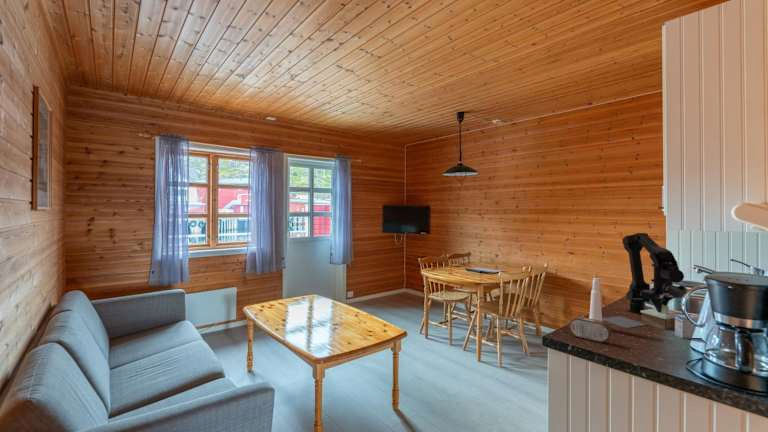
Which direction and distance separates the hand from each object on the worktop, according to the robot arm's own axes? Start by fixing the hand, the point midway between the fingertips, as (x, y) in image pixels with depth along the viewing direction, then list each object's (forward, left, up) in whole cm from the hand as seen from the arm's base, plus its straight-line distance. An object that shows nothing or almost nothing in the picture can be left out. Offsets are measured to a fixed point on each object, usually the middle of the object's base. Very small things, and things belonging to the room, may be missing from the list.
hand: (660, 312), depth 158 cm
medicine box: (+5, +14, -6) cm, 16 cm away
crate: (0, 0, -6) cm, 6 cm away
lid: (0, 0, -3) cm, 3 cm away
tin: (+46, +3, -6) cm, 47 cm away
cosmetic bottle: (+31, -7, -6) cm, 32 cm away
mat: (+13, -8, -6) cm, 16 cm away
